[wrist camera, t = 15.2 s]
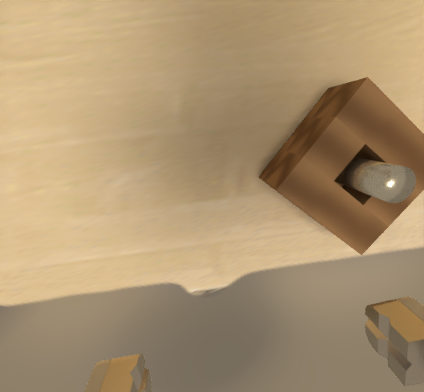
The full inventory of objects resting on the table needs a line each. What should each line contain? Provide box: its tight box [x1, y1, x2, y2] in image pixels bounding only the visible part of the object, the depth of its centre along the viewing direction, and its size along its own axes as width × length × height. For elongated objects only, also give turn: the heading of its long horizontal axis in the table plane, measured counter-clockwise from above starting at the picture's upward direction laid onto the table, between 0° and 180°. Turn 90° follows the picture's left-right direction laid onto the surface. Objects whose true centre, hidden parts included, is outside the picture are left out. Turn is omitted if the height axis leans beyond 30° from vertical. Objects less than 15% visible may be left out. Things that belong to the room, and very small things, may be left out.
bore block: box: [259, 77, 424, 255], centre depth 34 cm, size 16×16×8 cm
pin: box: [334, 157, 416, 203], centre depth 30 cm, size 4×4×11 cm
